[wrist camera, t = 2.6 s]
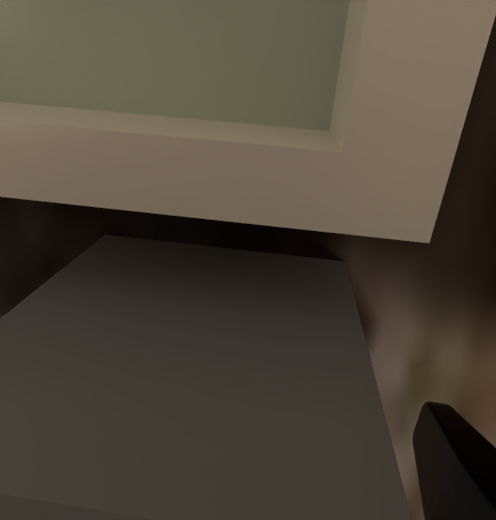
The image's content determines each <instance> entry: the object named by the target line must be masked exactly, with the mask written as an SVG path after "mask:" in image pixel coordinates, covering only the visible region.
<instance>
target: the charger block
mask: <svg viewBox="0 0 496 520" xmlns="http://www.w3.org/2000/svg"><path fill="white" fill-rule="evenodd" d="M0 520H411V516H410V512H409V508H408V504H407V500H406V496H405V492H404V488H403V485H402V481H401V477H400V473H399V469H398V465H397V461H396V457H395V453H394V449H393V445H392V442H391V438H390V434H389V430H388V426H387V422H386V418H385V414H384V410H383V406H382V403H381V399H380V395H379V391H378V387H377V383H376V379H375V375H374V371H373V367H372V363H371V360H370V356H369V352H368V348H367V344H366V340H365V336H364V332H363V328H362V324H361V320H360V317H359V313H358V309H357V305H356V301H355V297H354V293H353V289H352V285H351V281H350V277H349V274H348V270H347V266H346V262H345V261H336V260H328V259H319V258H310V257H301V256H292V255H283V254H274V253H265V252H256V251H247V250H238V249H230V248H221V247H212V246H203V245H194V244H185V243H176V242H167V241H158V240H149V239H141V238H132V237H123V236H114V235H104V236H102V237H101V238H100V239H99V240H97V241H96V242H95V243H94V244H92V245H91V246H90V247H89V248H87V249H86V250H85V251H84V252H82V253H81V254H80V255H79V256H77V257H76V258H75V259H74V260H72V261H71V262H70V263H69V264H67V265H66V266H65V267H64V268H62V269H61V270H60V271H59V272H57V273H56V274H55V275H54V276H52V277H51V278H50V279H49V280H48V281H46V282H45V283H44V284H43V285H41V286H40V287H39V288H38V289H36V290H35V291H34V292H33V293H31V294H30V295H29V296H28V297H26V298H25V299H24V300H23V301H21V302H20V303H19V304H18V305H16V306H15V307H14V308H13V309H11V310H10V311H9V312H8V313H6V314H5V315H4V316H3V317H1V318H0Z"/></svg>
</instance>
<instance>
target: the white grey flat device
mask: <svg viewBox="0 0 496 520" xmlns="http://www.w3.org/2000/svg"><path fill="white" fill-rule="evenodd" d="M495 15H496V0H0V197H8V198H17V199H26V200H35V201H44V202H54V203H63V204H72V205H81V206H90V207H100V208H109V209H118V210H127V211H137V212H146V213H155V214H164V215H173V216H183V217H192V218H201V219H210V220H220V221H229V222H238V223H247V224H256V225H266V226H275V227H284V228H293V229H303V230H312V231H321V232H330V233H339V234H349V235H358V236H367V237H376V238H385V239H395V240H404V241H413V242H422V243H430V239H431V236H432V233H433V229H434V226H435V222H436V219H437V215H438V212H439V208H440V205H441V202H442V198H443V195H444V191H445V188H446V184H447V181H448V177H449V174H450V170H451V167H452V164H453V160H454V157H455V153H456V150H457V146H458V143H459V139H460V136H461V133H462V129H463V126H464V122H465V119H466V115H467V112H468V108H469V105H470V102H471V98H472V95H473V91H474V88H475V84H476V81H477V77H478V74H479V71H480V67H481V64H482V60H483V57H484V53H485V50H486V46H487V43H488V39H489V36H490V33H491V29H492V26H493V22H494V19H495Z"/></svg>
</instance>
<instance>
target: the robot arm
mask: <svg viewBox="0 0 496 520" xmlns="http://www.w3.org/2000/svg"><path fill="white" fill-rule="evenodd" d="M413 447H414V454H415V460H416V466H417V473H418V479H419V486H420V492H421V498H422V505H423V511H424V517H425V520H496V448H495V447H494V446H493V445H492V444H491V443H490V442H489V441H488V440H487V439H486V438H484V437H483V436H482V435H481V434H480V433H479V432H478V431H477V430H476V429H475V428H474V427H473V426H471V425H470V424H469V423H468V422H467V421H466V420H465V419H464V418H463V417H462V416H461V415H460V414H459V413H457V412H456V411H455V410H454V409H453V408H452V407H451V406H449V405H447V404H444V403H436V402H426V403H424V405H423V407H422V409H421V412H420V415H419V418H418V420H417V423H416V426H415V429H414V432H413Z"/></svg>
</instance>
